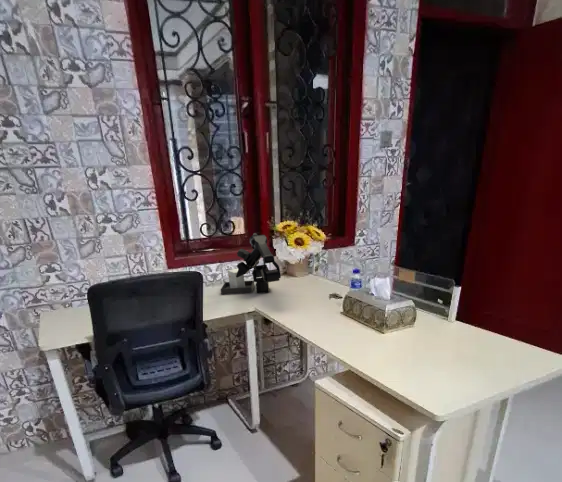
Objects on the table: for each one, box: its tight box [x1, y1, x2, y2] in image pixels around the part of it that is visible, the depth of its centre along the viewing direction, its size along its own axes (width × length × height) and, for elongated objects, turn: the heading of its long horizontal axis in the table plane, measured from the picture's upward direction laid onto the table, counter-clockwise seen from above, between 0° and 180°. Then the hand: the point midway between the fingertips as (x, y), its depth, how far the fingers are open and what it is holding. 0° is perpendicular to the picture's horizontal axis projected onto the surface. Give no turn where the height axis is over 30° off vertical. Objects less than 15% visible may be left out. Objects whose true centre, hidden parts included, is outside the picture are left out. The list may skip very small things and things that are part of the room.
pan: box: [220, 279, 256, 295], centre depth 236 cm, size 17×13×3 cm
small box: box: [227, 268, 246, 288], centre depth 235 cm, size 8×6×10 cm
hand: (239, 274), depth 232 cm, fingers open, 9 cm apart
